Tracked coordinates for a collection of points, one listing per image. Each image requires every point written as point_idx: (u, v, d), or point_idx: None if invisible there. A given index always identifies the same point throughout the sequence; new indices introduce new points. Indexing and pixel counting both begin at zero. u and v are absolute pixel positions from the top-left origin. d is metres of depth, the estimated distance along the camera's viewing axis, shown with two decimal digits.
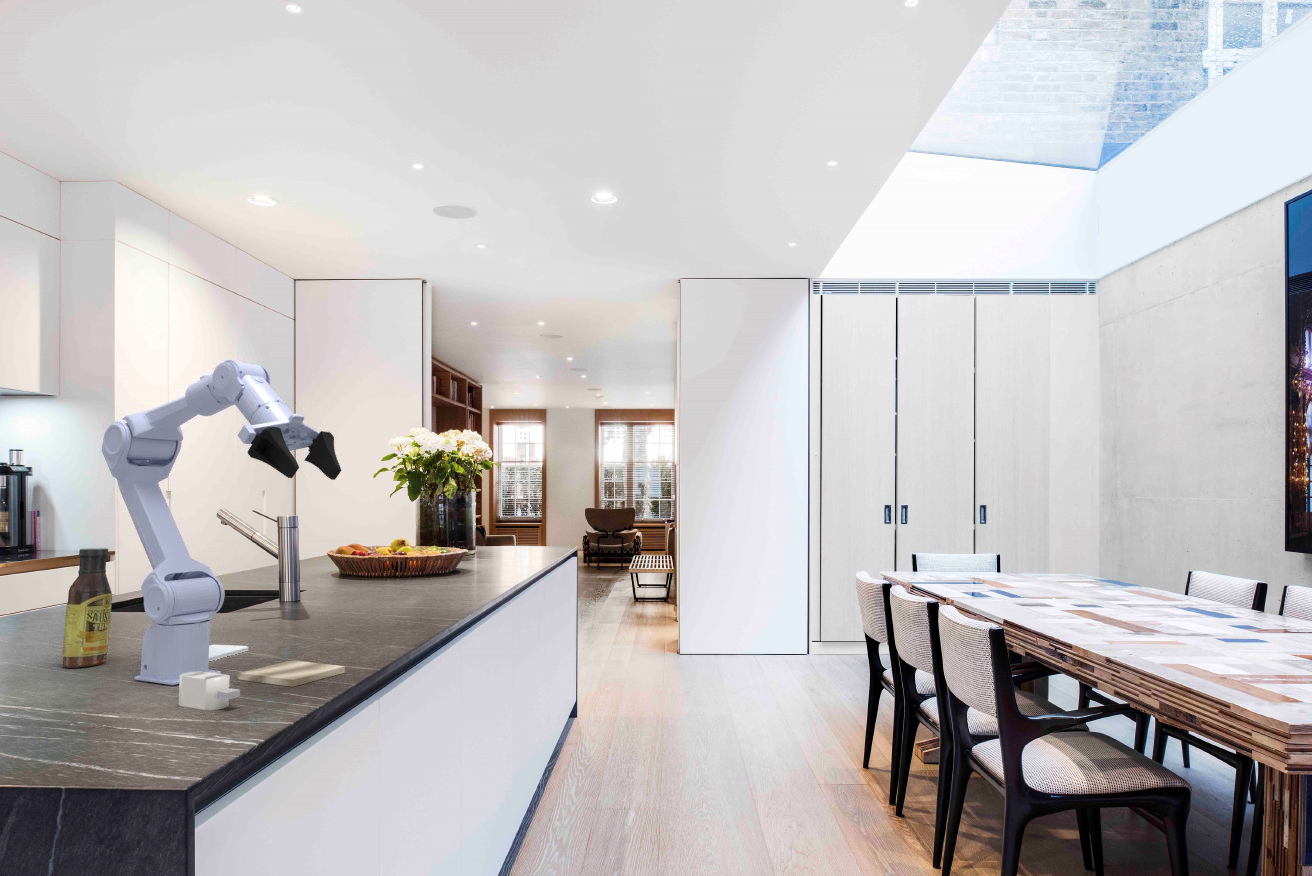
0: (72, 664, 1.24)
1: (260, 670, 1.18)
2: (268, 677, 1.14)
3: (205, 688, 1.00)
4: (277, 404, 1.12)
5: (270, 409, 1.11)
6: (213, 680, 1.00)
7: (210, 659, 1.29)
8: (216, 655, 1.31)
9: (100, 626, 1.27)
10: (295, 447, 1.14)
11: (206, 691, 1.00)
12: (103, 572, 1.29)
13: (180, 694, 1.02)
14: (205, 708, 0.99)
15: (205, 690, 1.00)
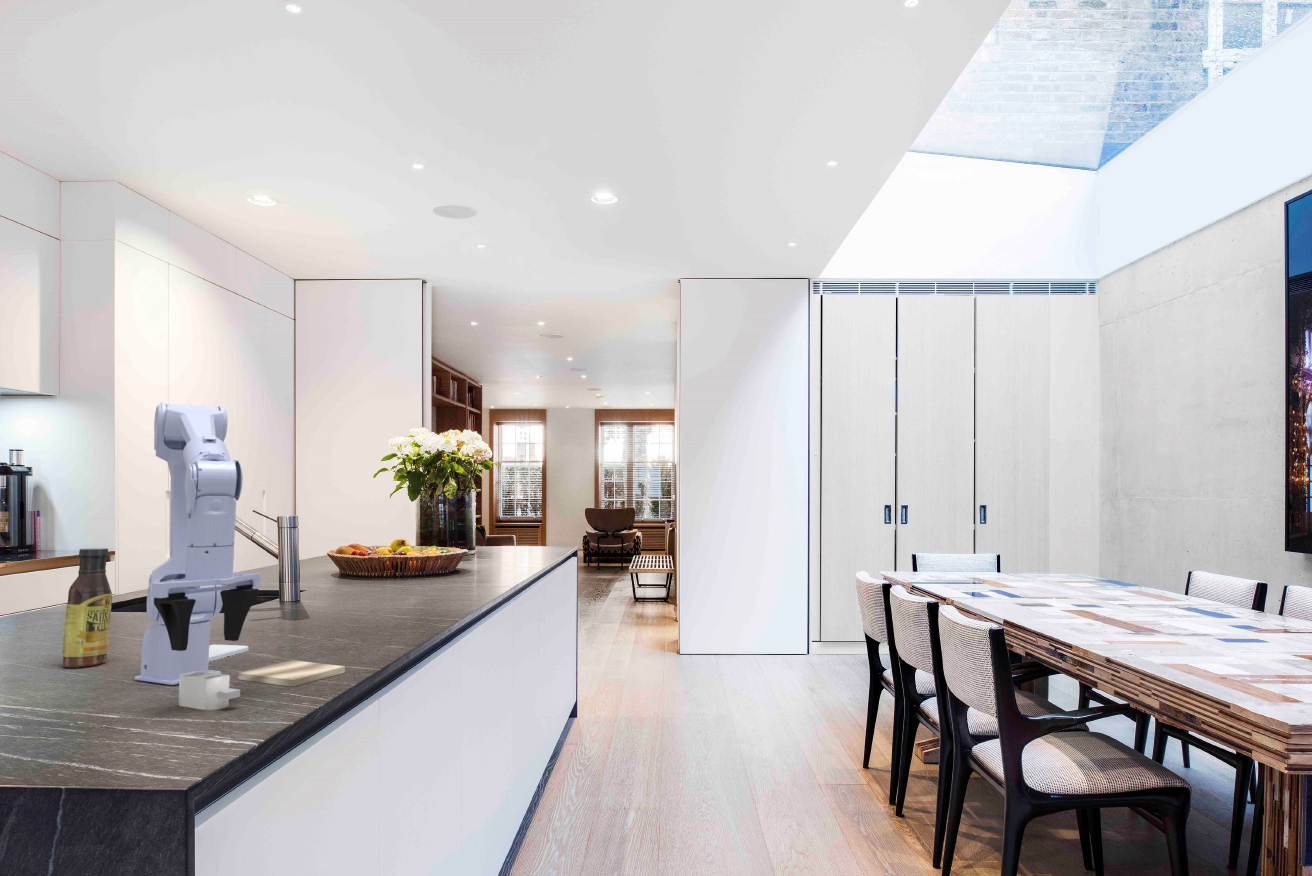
0: (72, 664, 1.24)
1: (260, 670, 1.18)
2: (268, 677, 1.14)
3: (205, 688, 1.00)
4: (219, 551, 1.02)
5: (208, 557, 1.01)
6: (213, 680, 1.00)
7: (210, 659, 1.29)
8: (216, 655, 1.31)
9: (100, 626, 1.27)
10: None
11: (206, 691, 1.00)
12: (103, 572, 1.29)
13: (180, 694, 1.02)
14: (205, 708, 0.99)
15: (205, 690, 1.00)
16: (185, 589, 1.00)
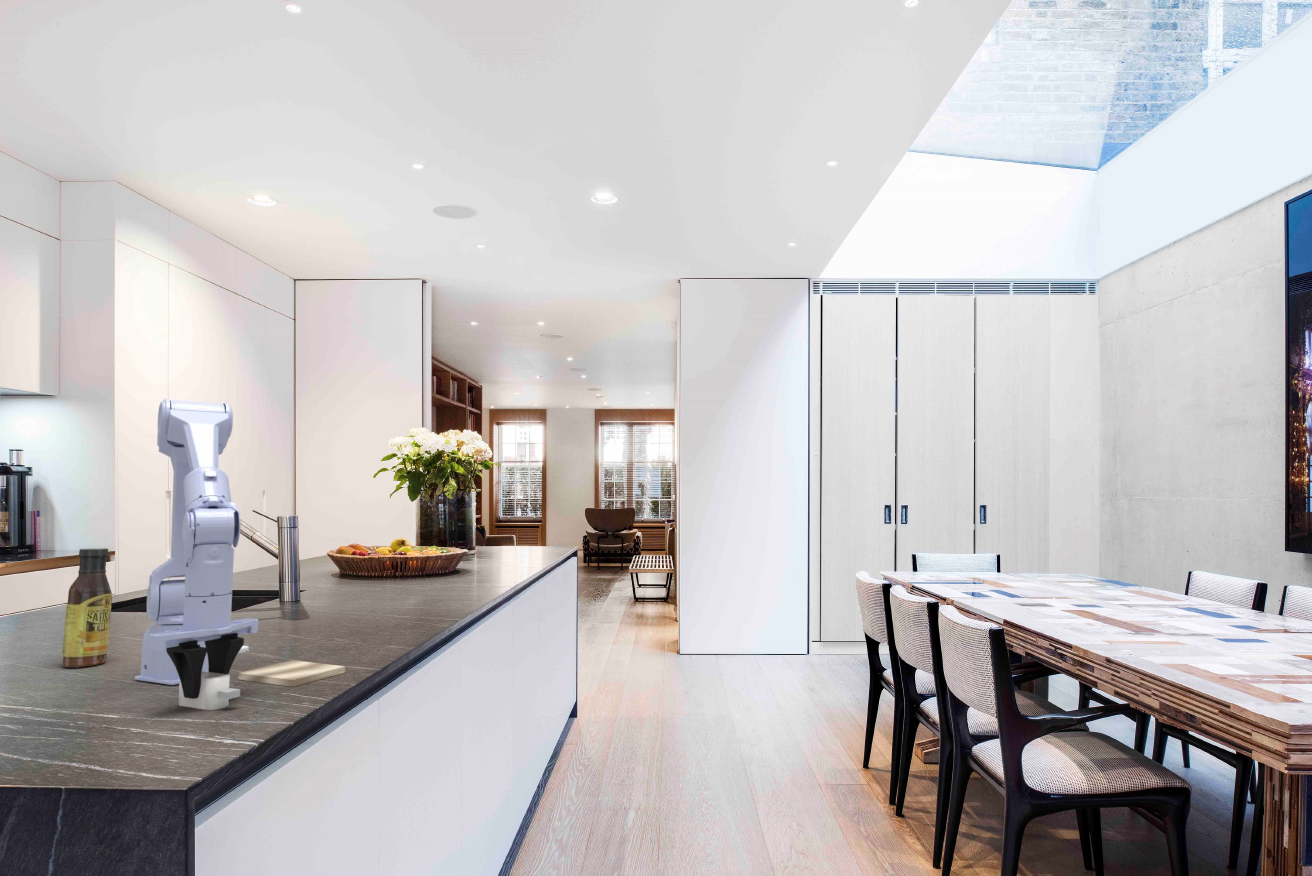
0: (72, 664, 1.24)
1: (260, 670, 1.18)
2: (268, 677, 1.14)
3: (205, 688, 1.00)
4: (217, 600, 1.01)
5: (205, 606, 1.00)
6: (213, 680, 1.00)
7: None
8: None
9: (100, 626, 1.27)
10: None
11: (206, 691, 1.00)
12: (103, 572, 1.29)
13: (180, 694, 1.02)
14: (205, 708, 0.99)
15: (205, 690, 1.00)
16: (182, 639, 0.99)
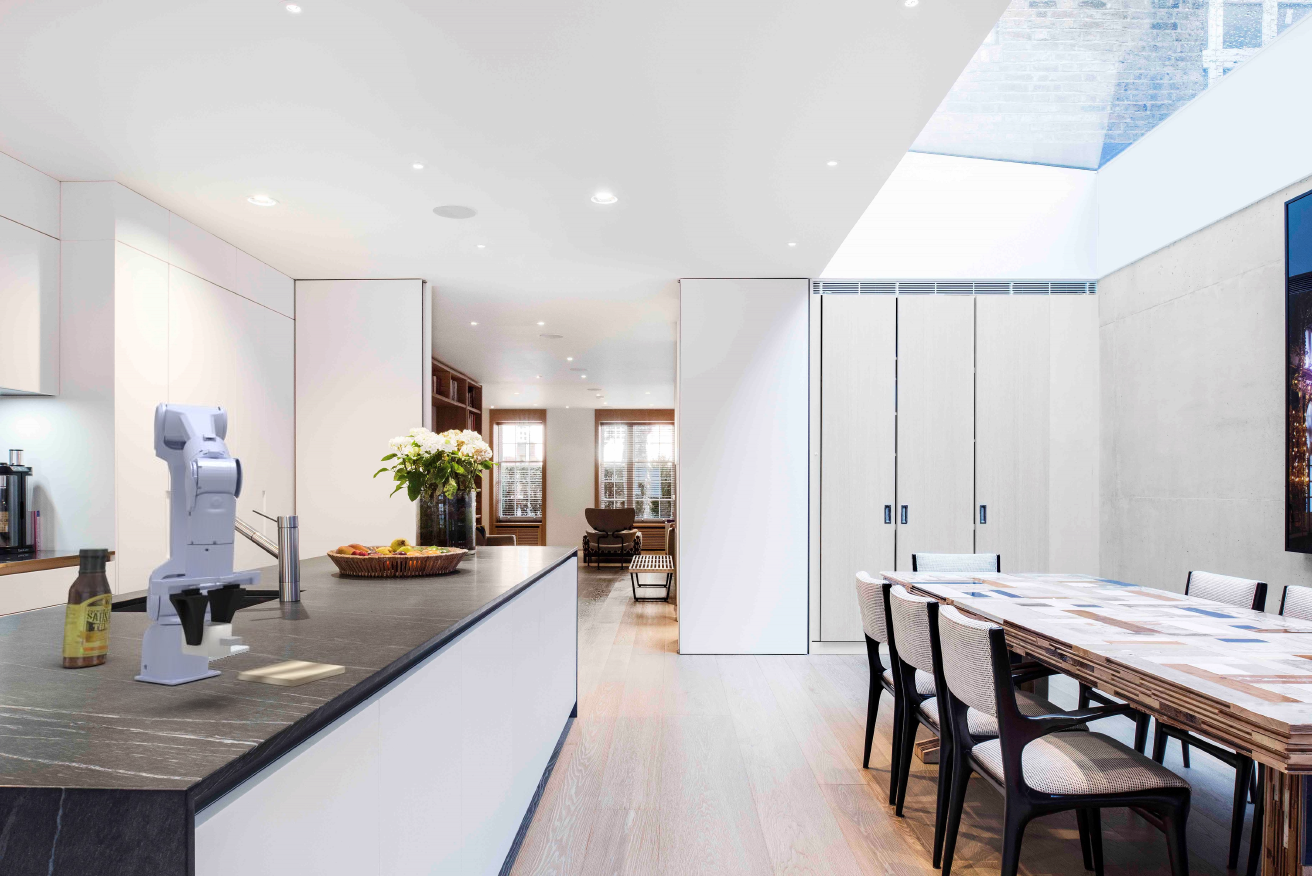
0: (72, 664, 1.24)
1: (260, 670, 1.18)
2: (268, 677, 1.14)
3: (208, 635, 1.00)
4: (219, 549, 1.02)
5: (208, 554, 1.01)
6: (216, 627, 1.00)
7: (211, 659, 1.29)
8: None
9: (100, 626, 1.27)
10: None
11: (209, 638, 1.00)
12: (103, 572, 1.29)
13: (183, 642, 1.02)
14: (207, 655, 1.00)
15: (208, 637, 1.00)
16: (185, 587, 1.00)
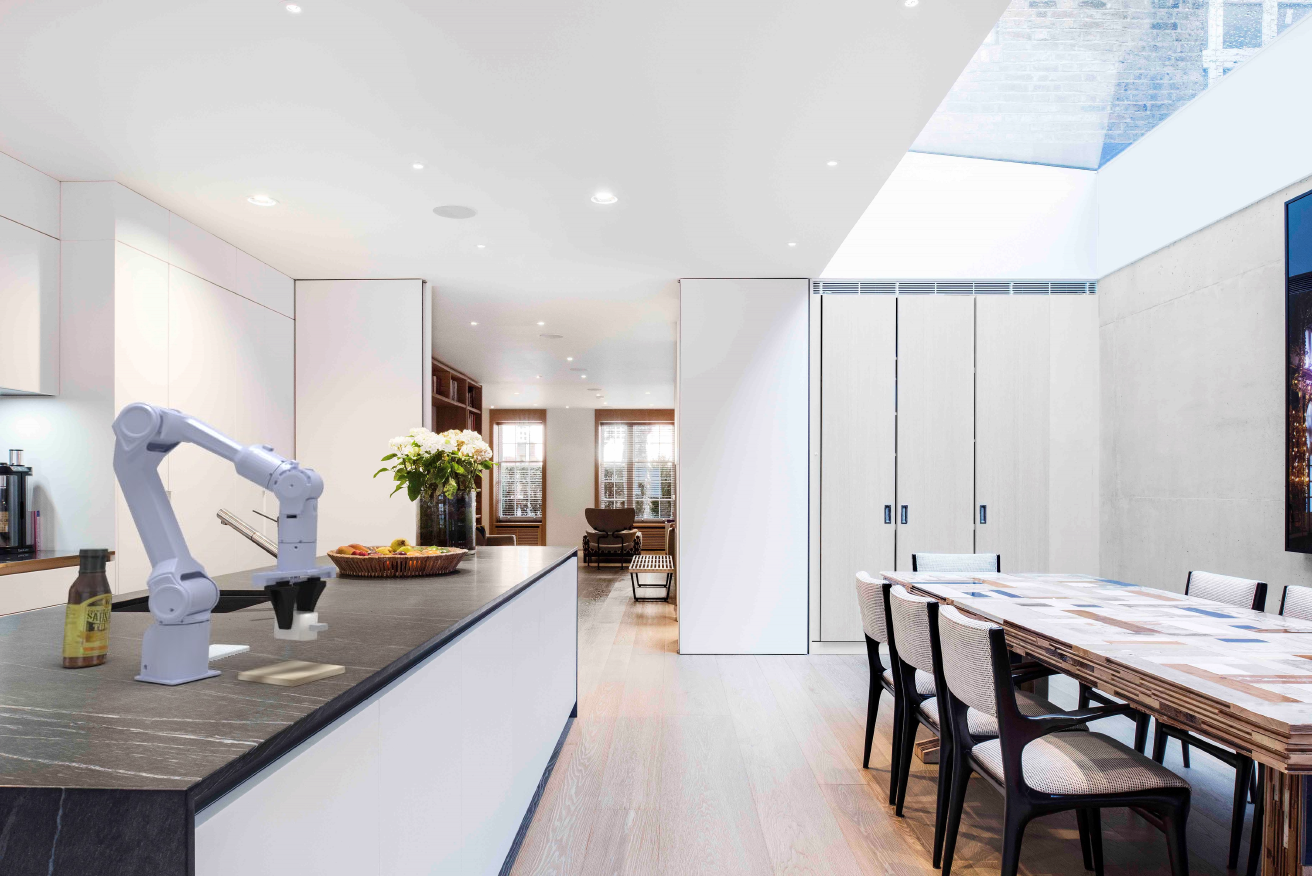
0: (72, 664, 1.24)
1: (260, 670, 1.18)
2: (268, 677, 1.14)
3: (298, 622, 1.17)
4: (306, 547, 1.18)
5: (297, 551, 1.18)
6: (305, 615, 1.17)
7: (211, 659, 1.30)
8: (217, 655, 1.31)
9: (100, 626, 1.27)
10: None
11: (299, 624, 1.17)
12: (103, 572, 1.29)
13: (276, 628, 1.19)
14: (298, 639, 1.16)
15: (298, 624, 1.17)
16: (278, 579, 1.16)
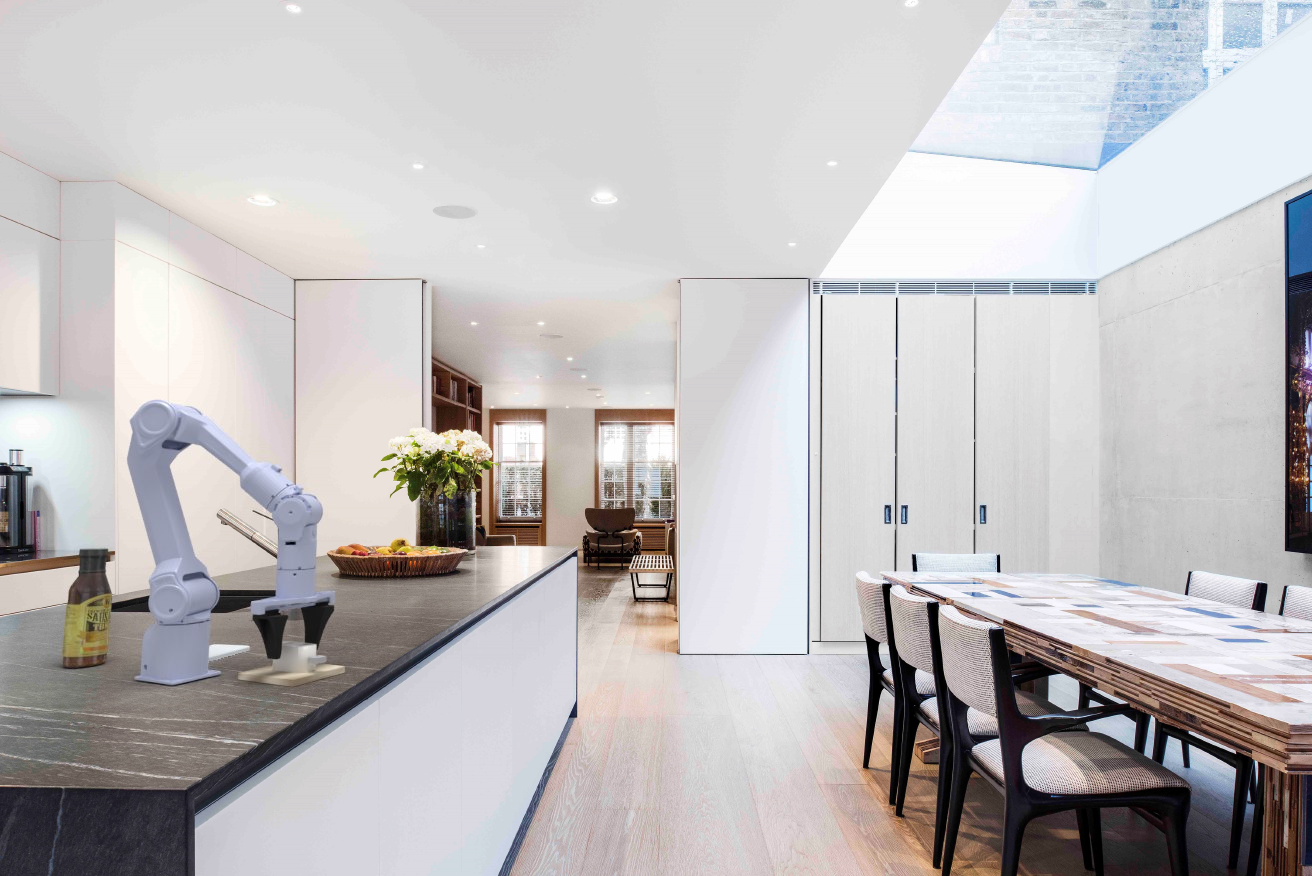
0: (72, 664, 1.24)
1: (260, 670, 1.18)
2: (268, 677, 1.14)
3: (297, 654, 1.16)
4: (305, 573, 1.18)
5: (295, 578, 1.17)
6: (304, 647, 1.16)
7: (212, 659, 1.30)
8: (218, 655, 1.31)
9: (100, 626, 1.27)
10: None
11: (298, 657, 1.16)
12: (103, 572, 1.29)
13: (274, 660, 1.18)
14: (297, 671, 1.16)
15: (297, 656, 1.16)
16: (277, 606, 1.16)
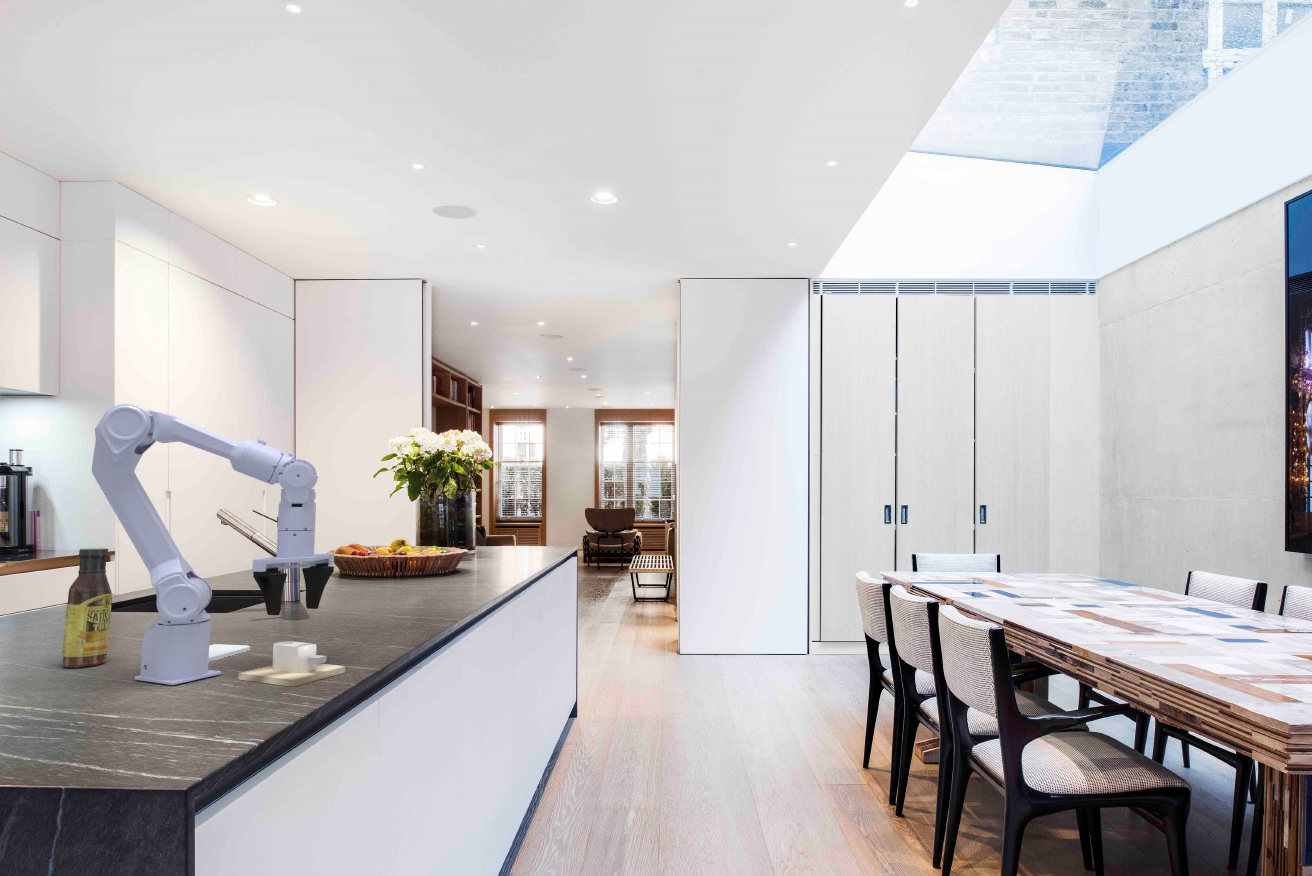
0: (72, 664, 1.24)
1: (260, 670, 1.18)
2: (268, 677, 1.14)
3: (297, 654, 1.16)
4: (304, 534, 1.24)
5: (295, 539, 1.23)
6: (304, 647, 1.16)
7: (212, 659, 1.30)
8: (218, 655, 1.31)
9: (100, 626, 1.27)
10: None
11: (298, 657, 1.16)
12: (103, 572, 1.29)
13: (274, 660, 1.18)
14: (297, 671, 1.16)
15: (297, 656, 1.16)
16: (278, 565, 1.22)
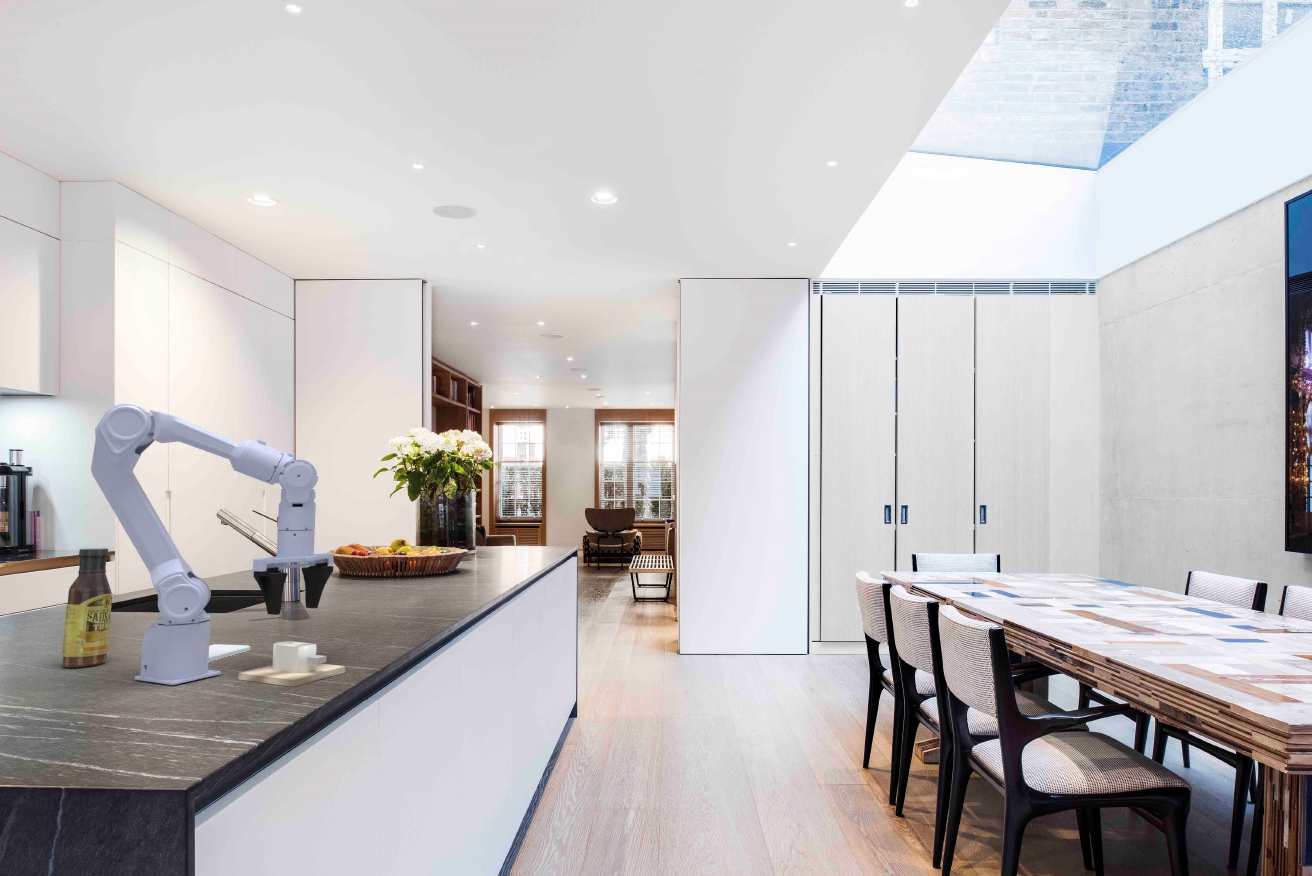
0: (72, 664, 1.24)
1: (260, 670, 1.18)
2: (268, 677, 1.14)
3: (297, 654, 1.16)
4: (304, 534, 1.24)
5: (295, 538, 1.23)
6: (304, 647, 1.16)
7: (212, 658, 1.30)
8: (218, 654, 1.31)
9: (100, 626, 1.27)
10: None
11: (298, 657, 1.16)
12: (103, 572, 1.29)
13: (274, 660, 1.18)
14: (297, 671, 1.16)
15: (297, 656, 1.16)
16: (278, 565, 1.22)
